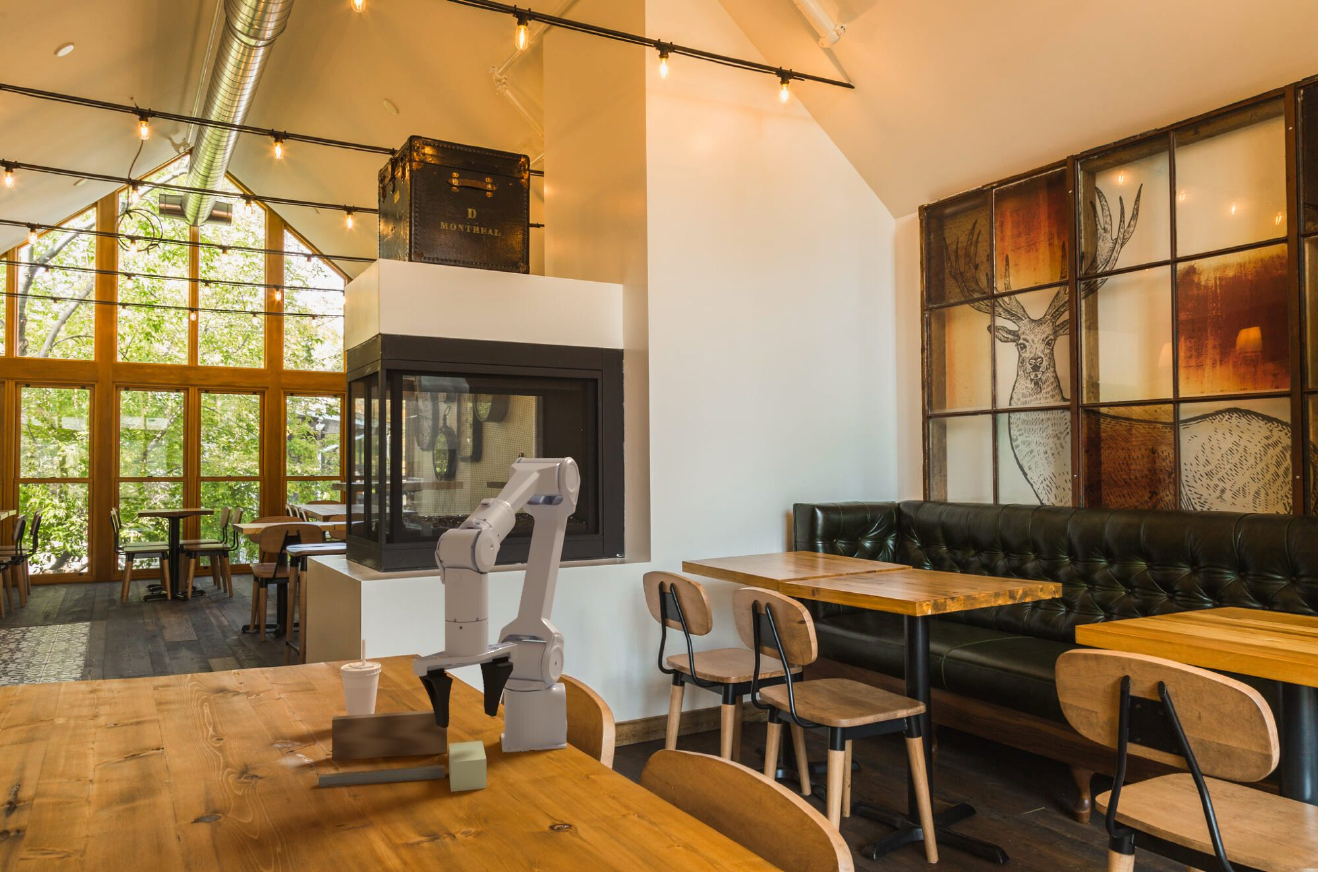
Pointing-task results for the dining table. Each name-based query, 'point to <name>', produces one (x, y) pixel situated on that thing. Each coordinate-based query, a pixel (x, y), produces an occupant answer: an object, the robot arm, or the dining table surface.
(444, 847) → the dining table surface
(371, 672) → the smoothie
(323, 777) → the strip
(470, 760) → the cabinet block
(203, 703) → the dining table surface
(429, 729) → the wall board
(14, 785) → the dining table surface
